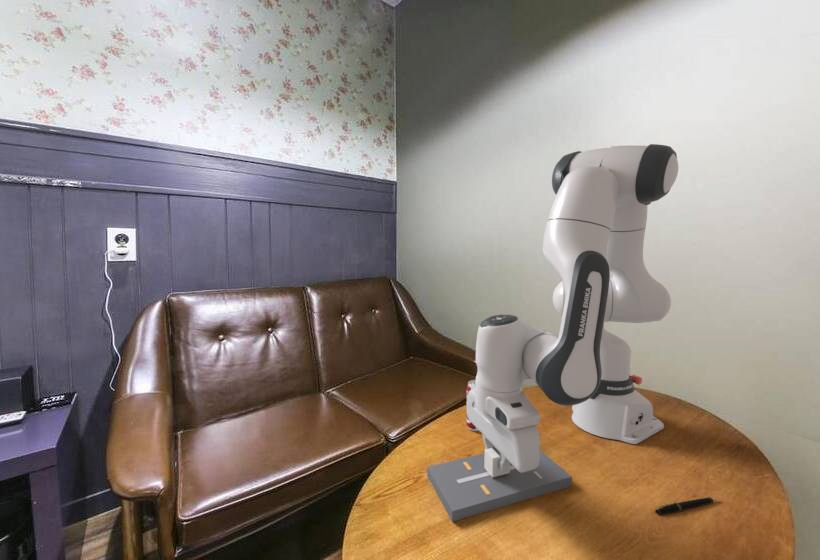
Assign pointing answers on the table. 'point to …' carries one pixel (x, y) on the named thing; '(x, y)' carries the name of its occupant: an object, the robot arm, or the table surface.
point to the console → (491, 485)
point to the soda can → (468, 422)
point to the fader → (493, 462)
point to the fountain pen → (682, 505)
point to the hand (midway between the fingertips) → (497, 462)
